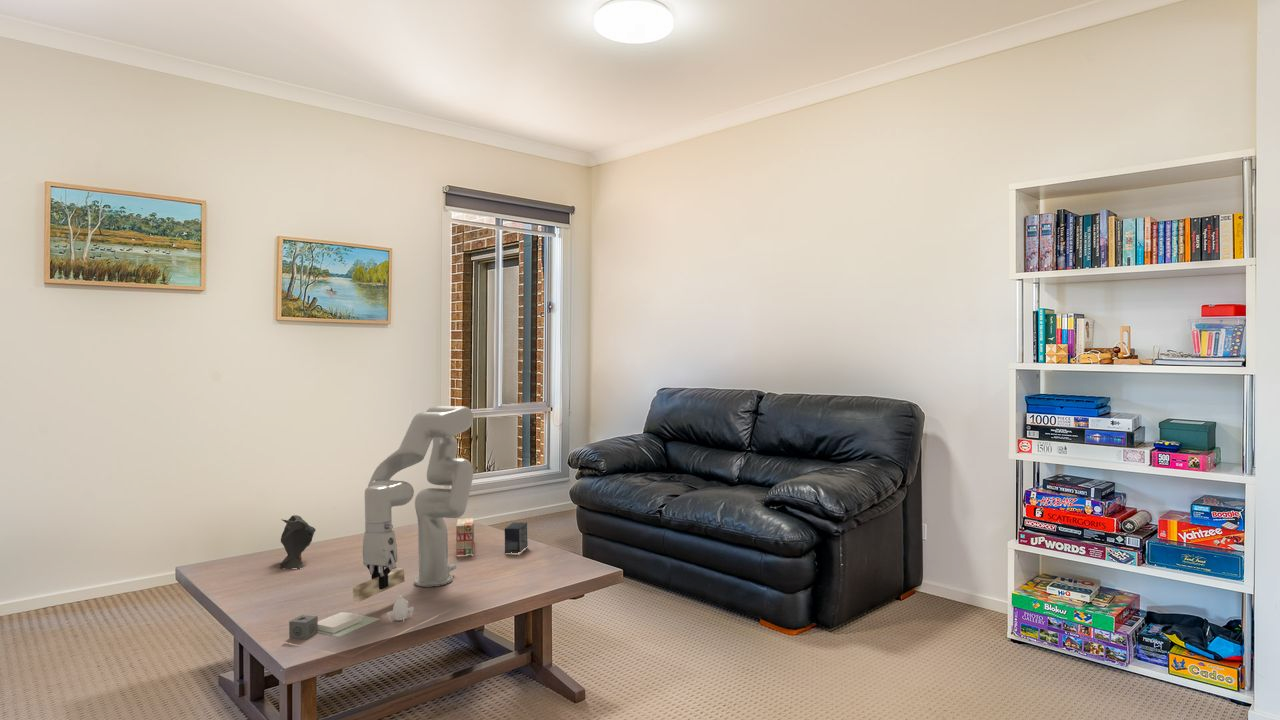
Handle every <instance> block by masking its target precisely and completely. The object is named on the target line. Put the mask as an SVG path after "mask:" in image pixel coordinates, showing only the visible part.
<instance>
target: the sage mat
mask: <svg viewBox="0 0 1280 720" xmlns="http://www.w3.org/2000/svg"><path fill="white" fill-rule="evenodd" d="M343 612H344V613H349V614H354V615H358V614H357V613H351V612H347V611H343ZM359 615H360V616H362V621H361V622H359V623H356V624H354V625H352V626H349V627H347V628H345V629H342V630H340V631H338V632H335V633H330V632H326V631H321V630H318V633H319V634H323V635H327V636H332V637H337V638H339V637H342V636H344V635H347V634H349V633H351V632H353V631H356V630H358V629H360V628H362V627H365V626H367V625H369V624H372V623H374V622H377V621H379V620H380V618H377V617H373V616H372V617H371V616H367V615H363V614H362V615H361V614H359ZM318 633H317V634H318Z"/></svg>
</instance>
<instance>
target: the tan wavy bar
mask: <svg viewBox="0 0 1280 720" xmlns="http://www.w3.org/2000/svg"><path fill="white" fill-rule="evenodd" d="M404 582H405V568H401V567H396V568H395V569H392V570H391V571H390V573H389V574H388V587H386V588H384V589H379V577H376V578H374V579H372V578H371V579H368V580H366V581H364V582H362V583H359V584H358V585H355V586H352V594H353V595H352V596H353V597H352V599H353V601H354V602H358V603H359V602H362V601H364V600H367V599H369V598H371V597H373V596H375V595H377V594H380V593H382V592H385V591H387V590H389V589H392V588H393V587H395V586H397V585H400V584H402V583H404ZM353 601H352V602H353Z"/></svg>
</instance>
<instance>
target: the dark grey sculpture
mask: <svg viewBox="0 0 1280 720" xmlns="http://www.w3.org/2000/svg"><path fill="white" fill-rule="evenodd" d="M280 520H281V521H283V522H284V523H286V525H285V526H284V529H283V532H282V533H281V537H280V543H281V544H282V546H283V547H284V550H285V552H286V554H287V555H286V557H285V558H284V559H283V560H282V561H281V563H279V568H280V569H281V568H297V569H296V570H300V568H303V567H305V568H306V566H305V565H304V564H303V563H302V561H303V560H302V558H303V557H302V553H303V552H305V550H306V548H307V547H309V546H310V545H311V543H312V541H313V537H314V535H315V532H316V528H315V527H314V526H311V525H309V523H307V522H306V521H305V520H304V519H303V517H301V516H300V515H295V514H294V515H292V516H290V518H289V519H282V518H281V519H280ZM303 569H304V568H303Z"/></svg>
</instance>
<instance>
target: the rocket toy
mask: <svg viewBox="0 0 1280 720" xmlns="http://www.w3.org/2000/svg"><path fill="white" fill-rule="evenodd" d="M409 603H410V602H409V601H408V600H407V599H405V598H404V596H403V595H401V593H400V595H398V596H397V599H396V601H395V602H394V605H393V606H392V610H391V611H388V612H386V615H387V618H388V619H389V621H390V622H392V621H393V620H392V617H391V616H393V618H394V620H395V621H402V623H405V620H406V619H407V617H408V614H409V618H412V614H413V612H414V606H411V607H409Z"/></svg>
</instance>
